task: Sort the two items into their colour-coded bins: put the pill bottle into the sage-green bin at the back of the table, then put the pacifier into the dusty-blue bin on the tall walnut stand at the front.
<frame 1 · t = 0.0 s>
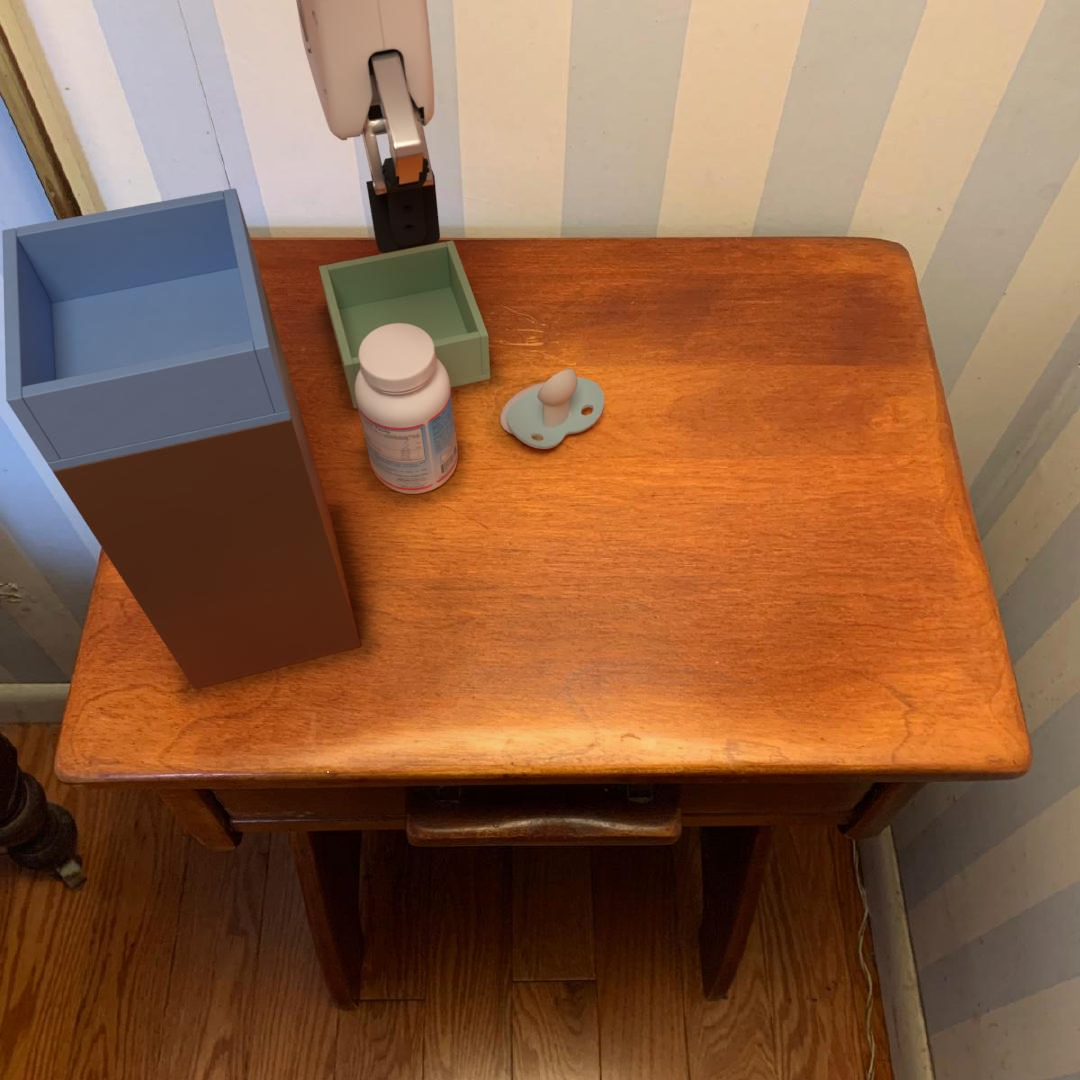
hand: (388, 184, 55), 22 cm above the table, tool pointing down, fingers open, 9 cm apart
green bin: (407, 344, 78), on the table
pacifier: (547, 422, 74), on the table
pill bottle: (414, 463, 72), on the table
blue bin: (266, 598, 65), on the table
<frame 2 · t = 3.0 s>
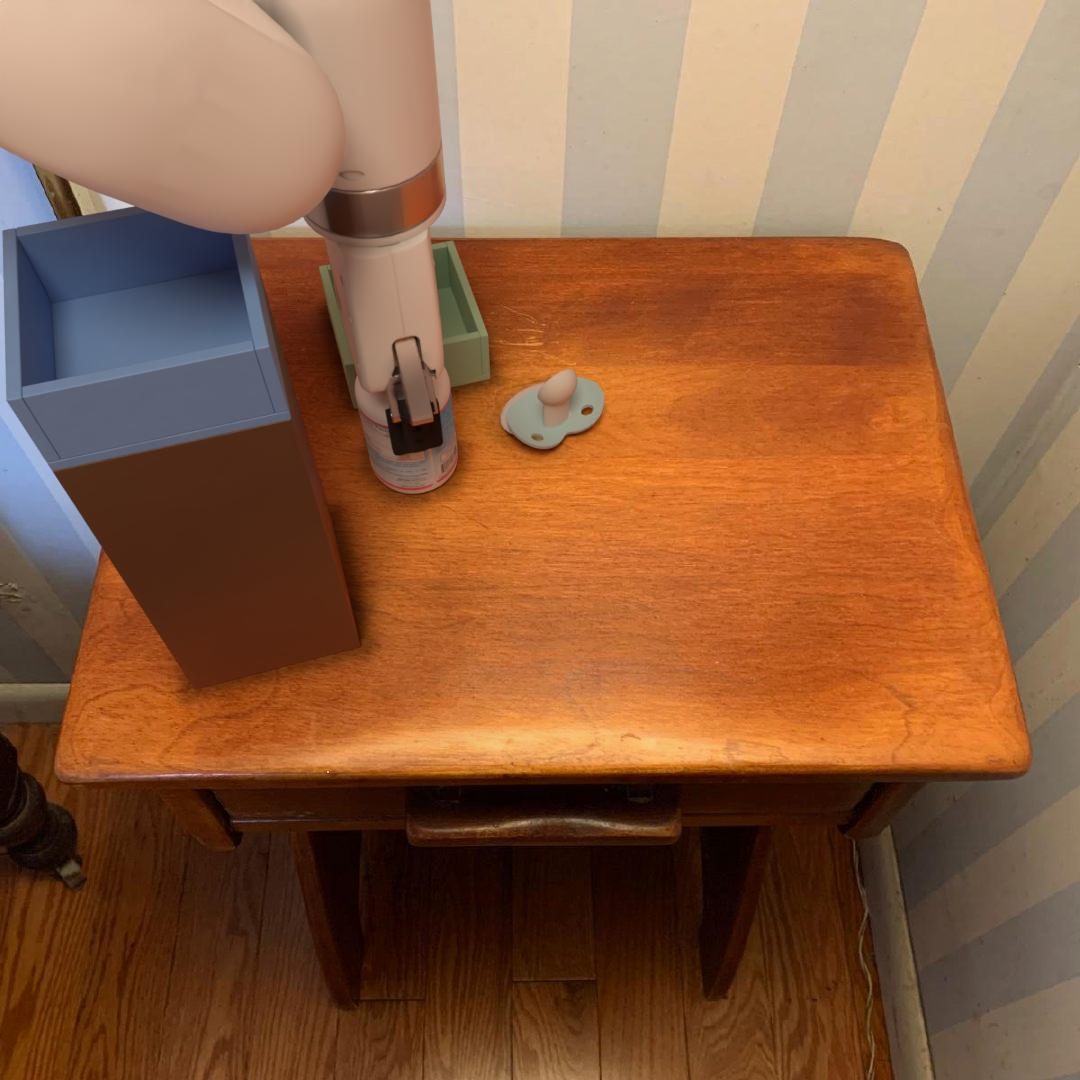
hand: (405, 405, 66), 6 cm above the table, tool pointing down, fingers closed on pill bottle, 6 cm apart
pill bottle: (414, 463, 72), on the table, touching gripper
everything else where it was.
when the fingers open (7 cm above the table, at t = 10.4 s): pill bottle stays where it is, resting on green bin.
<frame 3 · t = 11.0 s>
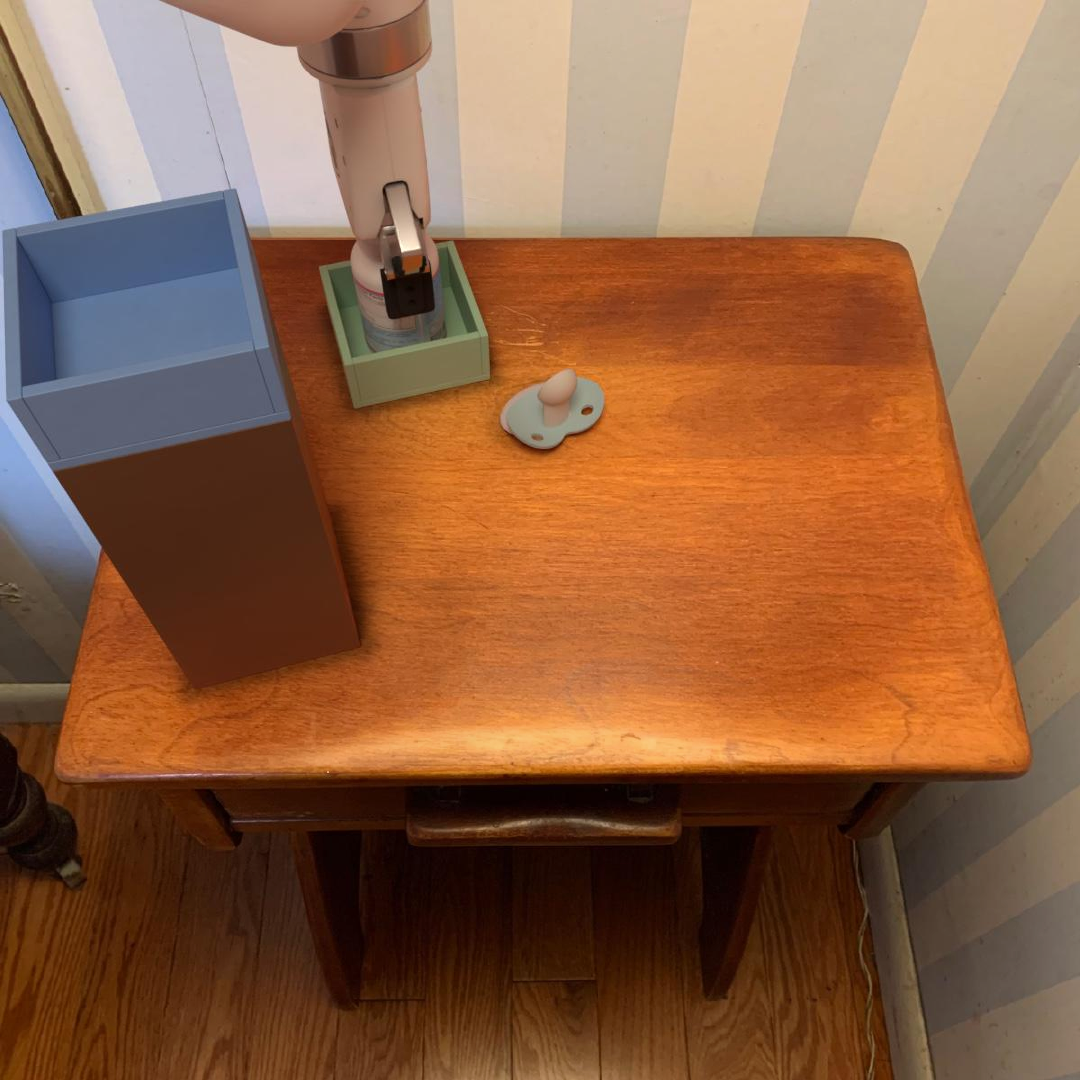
hand: (395, 264, 71), 8 cm above the table, tool pointing down, fingers open, 9 cm apart
pill bottle: (406, 341, 77), resting on green bin
everything else where it was.
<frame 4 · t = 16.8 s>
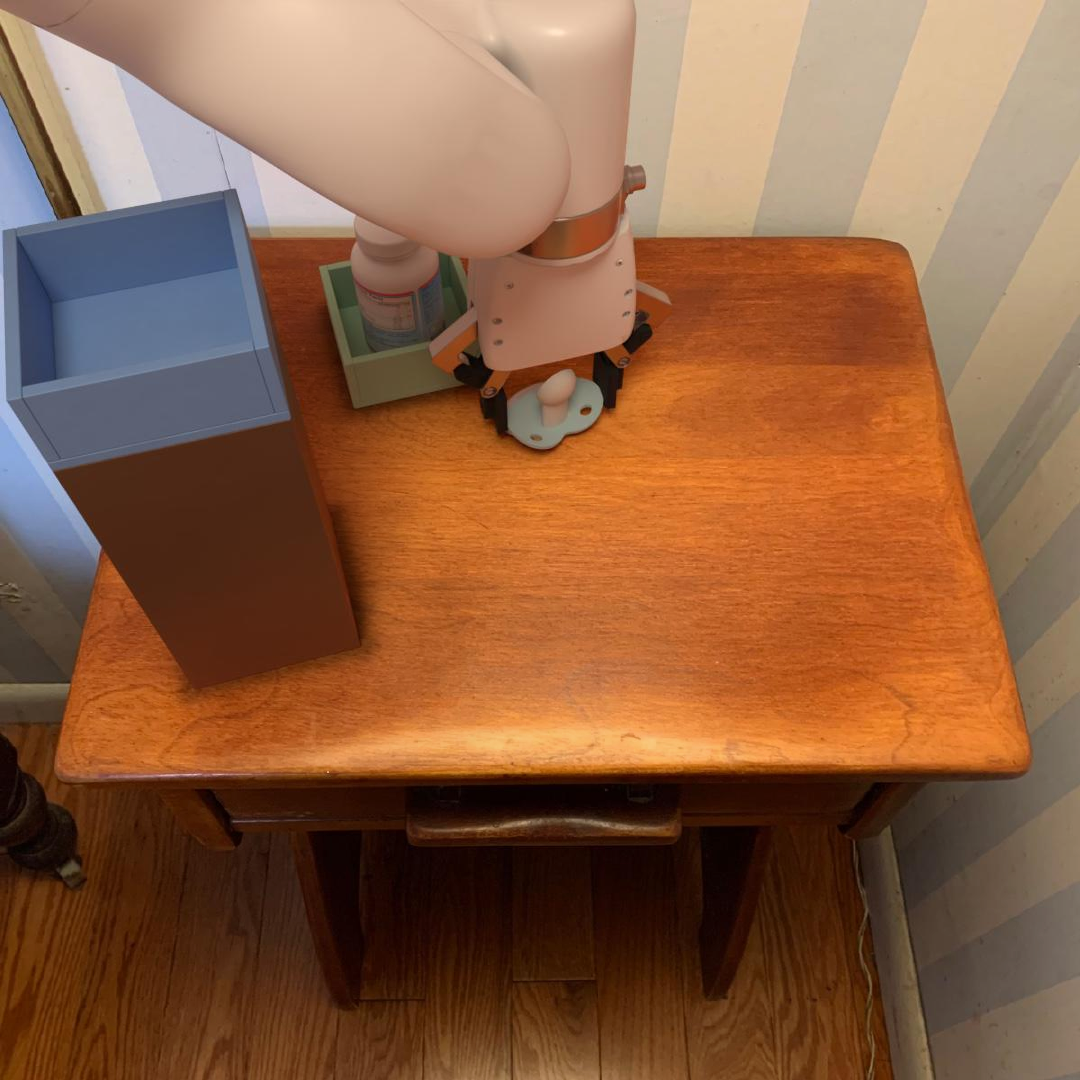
hand: (550, 405, 72), 2 cm above the table, tool pointing down, fingers closed on pacifier, 7 cm apart
pacifier: (546, 422, 74), on the table, touching gripper
everything else where it was.
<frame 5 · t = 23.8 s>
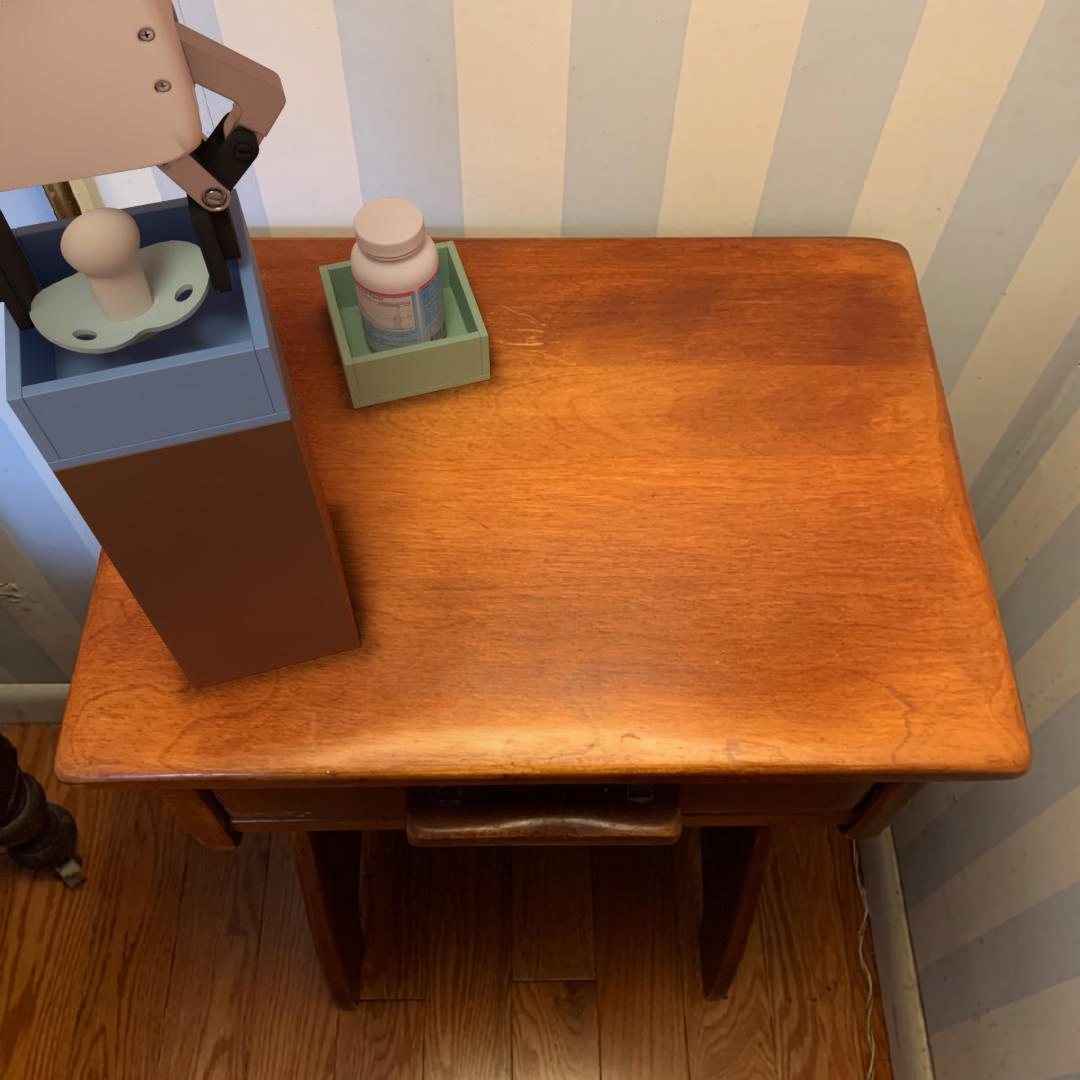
hand: (125, 285, 43), 27 cm above the table, tool pointing down, fingers closed on pacifier, 7 cm apart
pacifier: (130, 316, 44), point 25 cm above the table, touching gripper
everything else where it was.
when the fingers open (27 cm above the table, at t = 33.2 s): pacifier drops 3 cm, resting on blue bin.
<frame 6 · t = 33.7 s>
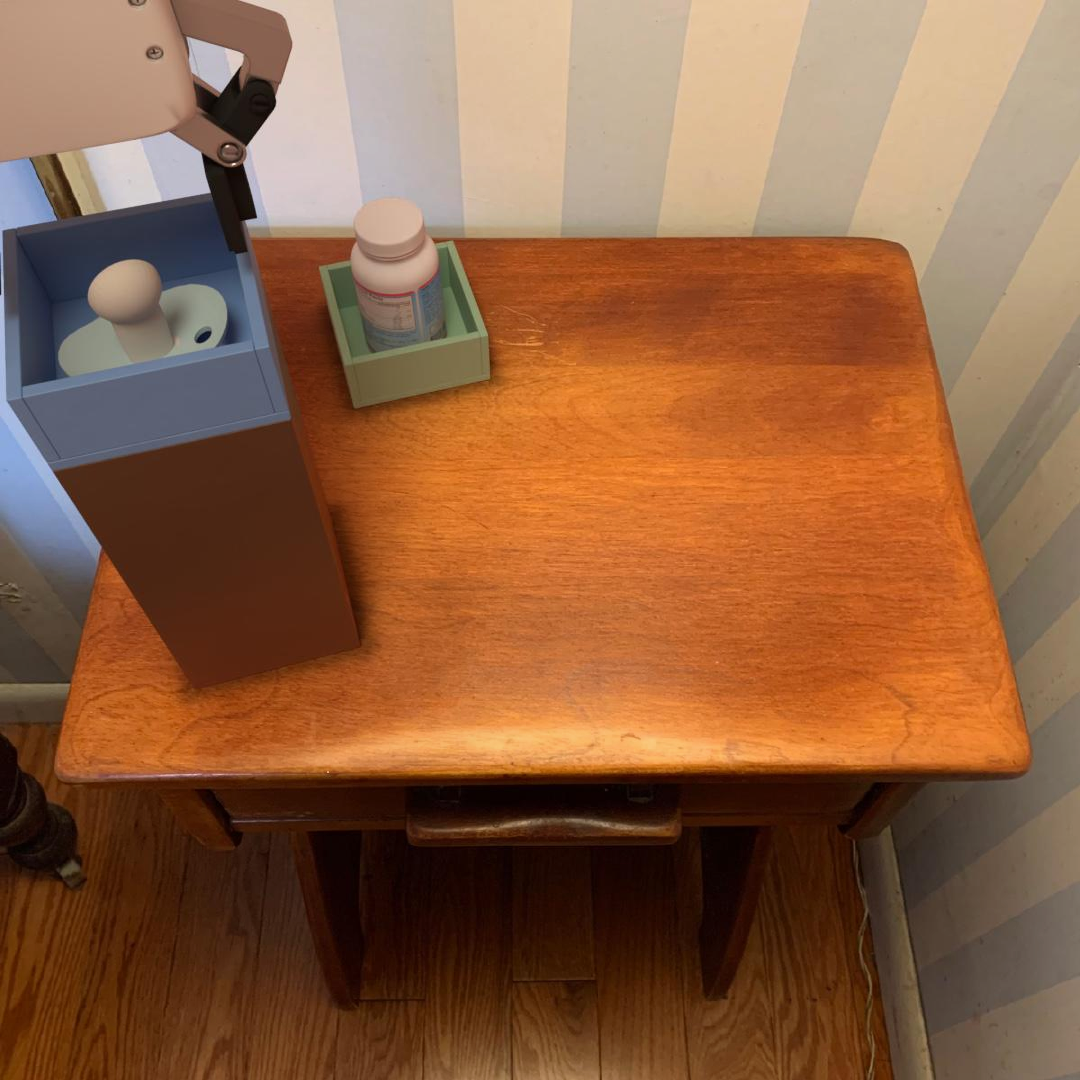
hand: (116, 254, 42), 28 cm above the table, tool pointing down, fingers open, 9 cm apart
pacifier: (151, 357, 47), point 22 cm above the table, touching blue bin
everything else where it was.
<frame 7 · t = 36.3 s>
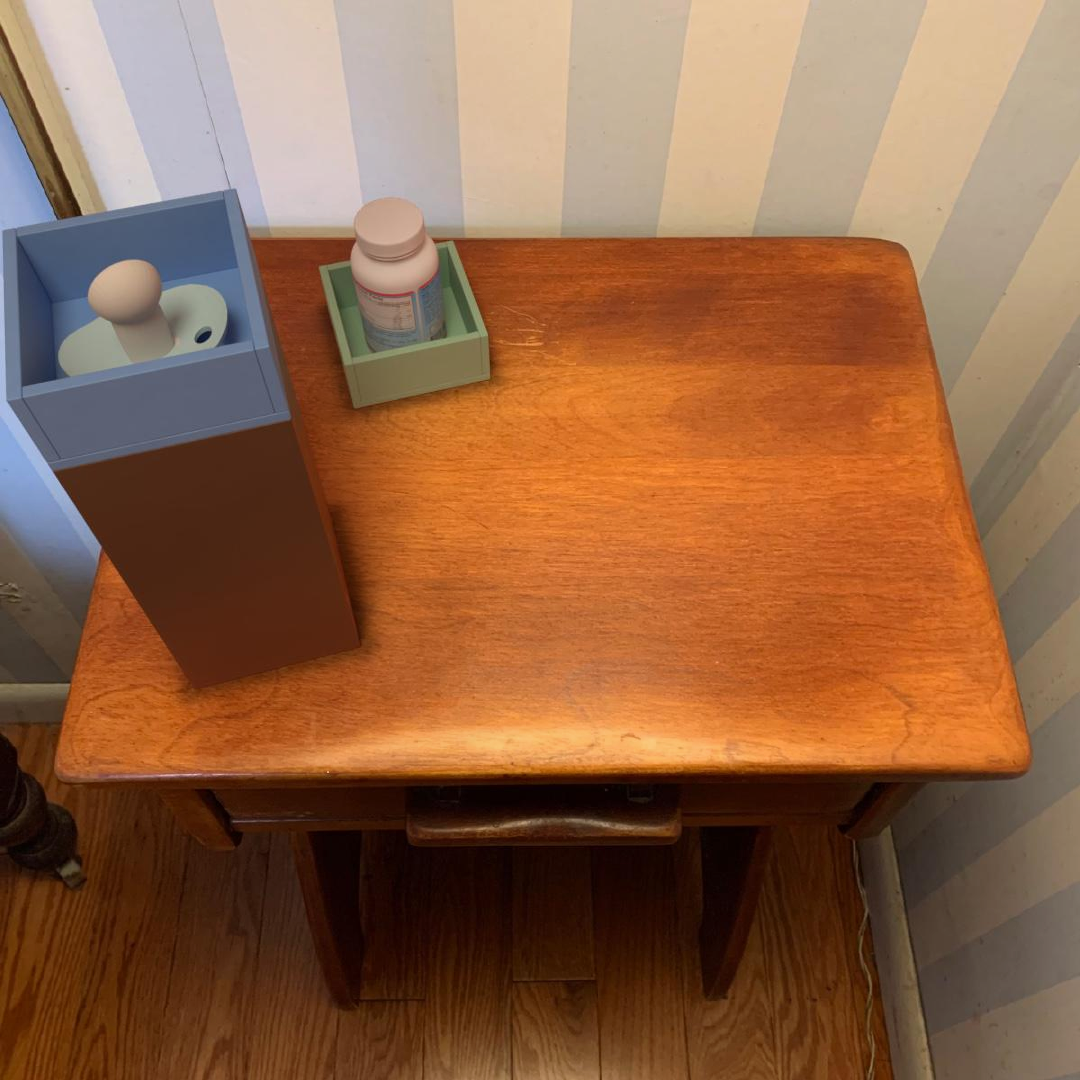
nothing on the table moved.
at the end: pill bottle inside the target area in the green bin (0.1 cm from its centre), point 0.4 cm above the green bin's base; pacifier inside the target area on the blue bin (0.4 cm from its centre), point 22.4 cm above the blue bin's base; pill bottle tilted 0° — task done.
